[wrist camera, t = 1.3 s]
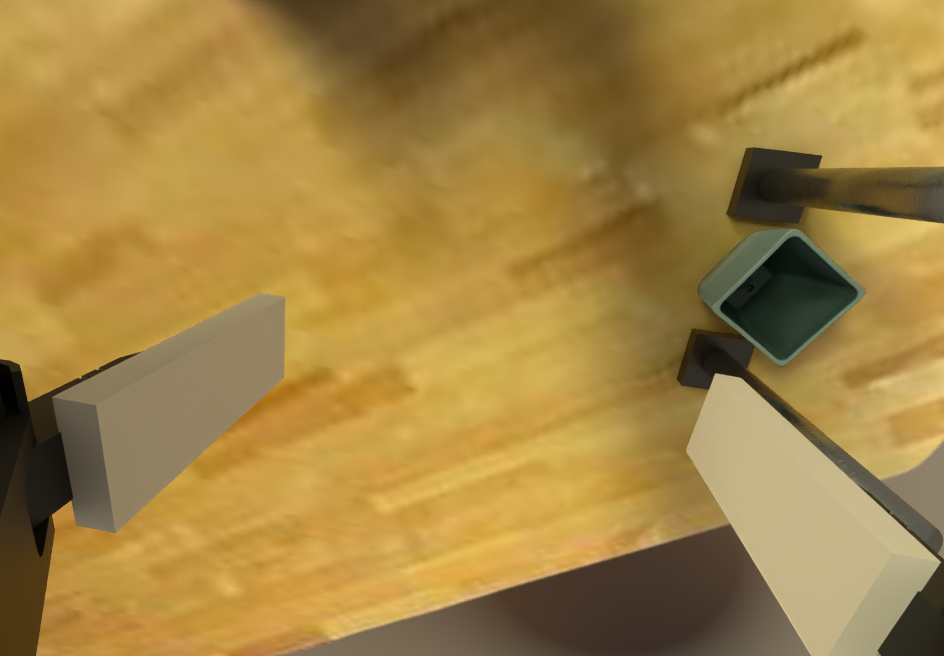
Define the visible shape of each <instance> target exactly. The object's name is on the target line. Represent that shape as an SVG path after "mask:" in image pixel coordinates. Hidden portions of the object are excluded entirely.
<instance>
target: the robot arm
mask: <svg viewBox="0 0 944 656" xmlns="http://www.w3.org/2000/svg"><path fill="white" fill-rule="evenodd" d="M284 340H285V297H282V296H276V295H271V294H265V293H259V294H257V295H255V296H253V297H251V298H249V299H247V300H245V301H243V302H241V303H239V304H237V305H235V306H233V307H231V308H229V309H227V310H225V311H223V312H221V313H219V314H217V315H215V316H213V317H211V318H209V319H207V320H205V321H203V322H201V323H199V324H197V325H195V326H193V327H191V328H189V329H187V330H185V331H183V332H181V333H179V334H177V335H175V336H173V337H171V338H169V339H167V340H165V341H163V342H161V343H159V344H157V345H155V346H153V347H151V348H149V349H147V350H145V351H143V352H139V353H135V354H132V355H128V356H124V357H120V358H118V359H116V360H114V361H112V362H110V363H108V364H106V365H104V366H102V367H100V368H99V370H93V371H91V372H89V373H87V374H85V375H83V376H82V378H81V379H80V378H77V379H75V380H73V381H71V382H69V383H67V384H65V385H63V386H60V387H58V388H56V389H54V390H52V391H50V392H48V393H46V394H44V395H42V396H40V397H38V398H36V399H34V400H32V401H30V402H28V401H27V396H26V391H25V387H24V382H23V377H22V372H21V369H20V365H19V364H17V363H14V362H12V361H9V360H1V359H0V656H36V652H37V645H38V639H39V632H40V625H41V619H42V612H43V606H44V599H45V592H46V586H47V579H48V573H49V566H50V559H51V553H52V546H53V540H54V533H55V528H54V523H53V518H52V514H53V513H55V512H56V511H57V510H59V509H60V508H61V507H63V506H64V505H65V504H67V503H68V502H69V501H71V500H72V506H73V511H74V516H75V521H76V525H77V526H83V527H88V528H93V529H98V530H103V531H108V532H114V533H116V532H117V531H118V530H119V529H120V528H121V527H123V526H124V525H125V524H126V523H127V522H128V521H129V520H130V519H131V518H132V517H133V516H134V515H136V514H137V513H138V512H139V511H140V510H141V509H142V508H143V507H144V506H145V505H146V504H147V503H149V502H150V501H151V500H152V499H153V498H154V497H155V496H156V495H157V494H158V493H159V492H160V491H162V490H163V489H164V488H165V487H166V486H167V485H168V484H169V483H170V482H171V481H172V480H173V479H175V478H176V477H177V476H178V475H179V474H180V473H181V472H182V471H183V470H184V469H185V468H186V467H188V466H189V465H190V464H191V463H192V462H193V461H194V460H195V459H196V458H197V457H198V456H199V455H201V454H202V453H203V452H204V451H205V450H206V449H207V448H208V447H209V446H210V445H211V444H212V443H214V442H215V441H216V440H217V439H218V438H219V437H220V436H221V435H222V434H223V433H224V432H225V431H227V430H228V429H229V428H230V427H231V426H232V425H233V424H234V423H235V422H236V421H237V420H238V419H240V418H241V417H242V416H243V415H244V414H245V413H246V412H247V411H248V410H249V409H250V408H251V407H253V406H254V405H255V404H256V403H257V402H258V401H259V400H260V399H261V398H262V397H263V396H264V395H266V394H267V393H268V392H269V391H270V390H271V389H272V388H273V387H274V386H275V385H276V384H277V383H279V382H280V381H281V380H282V379H283V378H284ZM686 452H687V453H688V455H689V457H690V458H691V460H692V462H693V463H694V465H695V467H696V468H697V470H698V471H699V473H700V475H701V476H702V478H703V480H704V481H705V483H706V484H707V486H708V488H709V489H710V491H711V493H712V494H713V496H714V498H715V499H716V501H717V502H718V504H719V506H720V507H721V509H722V511H723V512H724V514H725V516H726V517H727V519H728V520H729V522H730V524H731V525H732V527H733V528H734V530H735V532H736V533H737V535H738V537H739V538H740V540H741V542H742V543H743V545H744V547H745V548H746V550H747V551H748V553H749V554H750V556H751V558H752V560H753V561H754V563H755V564H756V566H757V568H758V569H759V571H760V572H761V574H762V576H763V578H764V579H765V581H766V582H767V584H768V586H769V587H770V589H771V591H772V592H773V594H774V596H775V597H776V598H777V600H778V602H779V604H780V605H781V607H782V609H783V610H784V612H785V613H786V615H787V617H788V618H789V620H790V622H791V623H792V625H793V627H794V628H795V630H796V631H797V633H798V635H799V636H800V638H801V640H802V641H803V643H804V644H805V646H806V648H807V649H808V651H809V653H810V654H811V656H877V654H878V653H880V654H881V656H944V559H943V558H942V557H940V556H939V555H938V554H937V553H936V552H935V551H934V550H933V549H932V548H931V547H929V546H928V545H927V544H926V543H925V542H924V541H923V540H922V539H921V538H920V537H918V536H917V535H916V534H915V533H914V532H913V531H912V530H909V529H907V526H906V525H905V524H904V523H903V522H902V521H901V520H900V519H899V518H898V517H896V516H895V515H894V514H890V510H889V509H888V508H887V507H885V506H884V505H883V504H882V503H881V502H880V501H879V500H878V499H877V498H876V497H874V496H873V495H872V494H871V493H870V492H868V491H867V490H865V489H864V488H862V487H861V486H859V485H858V484H856V483H855V482H854V481H852V480H851V479H850V478H849V477H848V476H847V475H846V474H845V473H844V472H843V471H842V470H840V469H839V468H838V467H837V466H836V465H835V464H834V463H833V462H832V461H831V460H830V459H829V458H827V457H826V456H825V455H824V454H823V453H822V452H821V451H820V450H819V449H818V448H817V447H816V446H814V445H813V444H812V443H811V442H810V441H809V440H808V439H807V438H806V437H805V436H804V435H802V434H801V433H800V432H799V431H798V430H797V429H796V428H795V427H794V426H793V425H792V424H791V423H789V422H788V421H787V420H786V419H785V418H784V417H783V416H782V415H781V414H780V413H779V412H778V411H776V410H775V409H774V408H773V407H772V406H771V405H770V404H769V403H768V402H767V401H766V400H764V399H763V398H762V397H761V396H760V395H759V394H758V393H757V392H756V391H755V390H754V389H753V388H751V387H750V386H749V385H748V384H747V383H746V382H745V381H744V380H743V379H742V378H738V377H733V376H727V375H722V374H716V373H715V376H714V378H713V381H712V383H711V386H710V389H709V391H708V394H707V397H706V399H705V402H704V404H703V407H702V410H701V412H700V415H699V417H698V420H697V423H696V425H695V428H694V430H693V433H692V436H691V438H690V441H689V443H688V446H687V449H686Z"/></svg>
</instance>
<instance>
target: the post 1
mask: <svg viewBox="0 0 944 656" xmlns="http://www.w3.org/2000/svg"><path fill="white" fill-rule="evenodd" d="M821 158H822V156H820V155H812V154H804V153H796V152H787V151H779V150H771V149H763V148H746V151H745V154H744V157H743V161H742V164H741V167H740V171H739V174H738V177H737V181H736V184H735V187H734V191H733V194H732V197H731V201H730V204H729V207H728V211H727V214H729V215H735V216H743V217H751V218H759V219H766V220H774V221H782V222H790V223H799V220H800V217H801V214H802V212H803V209H804V207H809V208H817V209H826V210H834V211H843V212H851V213H860V214H868V215H876V216H885V217H893V218H902V219H910V220H919V221H927V222H936V223H944V167H895V168H821V169H818V167H819V164H820V161H821Z"/></svg>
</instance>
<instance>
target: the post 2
mask: <svg viewBox="0 0 944 656" xmlns="http://www.w3.org/2000/svg"><path fill="white" fill-rule="evenodd" d="M754 347H755V345H753V344H752V343H751V342H750V341H749V340H747V339H746V338H745V337H744V336H740V335H733V334H726V333H719V332H712V331H704V330H697V329H692V330H691V334H690V337H689V340H688V344H687V347H686V350H685V354H684V357H683V360H682V364H681V367H680V370H679V374H678V377H677V380H678V381H679V383H680V384H681V385H683V386H690V387H697V388H704V389H710V386H711V383H712V381H713V378H714V376H715V373H716V374H722V375H727V376H733V377H738V378H742V379H743V380H744V381H745V382H746V383H747V384H748V385H749V386H750V387H751V388H753V389H754V390H755V391H756V392H757V393H758V394H759V395H760V396H761V397H762V398H763V399H764V400H766V401H767V402H768V403H769V404H770V405H771V406H772V407H773V408H774V409H775V410H776V411H778V412H779V413H780V414H781V415H782V416H783V417H784V418H785V419H786V420H787V421H788V422H789V423H791V424H792V425H793V426H794V427H795V428H796V429H797V430H798V431H799V432H800V433H801V434H802V435H804V436H805V437H806V438H807V439H808V440H809V441H810V442H811V443H812V444H813V445H814V446H816V447H817V448H818V449H819V450H820V451H821V452H822V453H823V454H824V455H825V456H826V457H827V458H829V459H830V460H831V461H832V462H833V463H834V464H835V465H836V466H837V467H838V468H839V469H840V470H842V471H843V472H844V473H845V474H846V475H847V476H848V477H849V478H850V479H851V480H852V481H854V482H855V483H856V484H858V485H859V486H861V487H862V488H864V489H865V490H867V491H868V492H870V493H871V494H872V495H873V496H874V497H876V498H877V499H878V500H879V501H880V502H881V503H882V504H883V505H884V506H885V507H887V508H888V509H889V510H890V514H894V515H895V516H896V517H898V518H899V519H900V520H901V521H902V522H903V523H904V524H905V525H906V526H907V529H909V530H912V531H913V532H914V533H915V534H916V535H917V536H918V537H920V538H921V539H922V540H923V541H924V542H925V543H926V544H927V545H928V546H929V547H931V548H932V549H933V550H934V551H935V552H936V553H938V552H939V550H940V549H941V546H942V543H943V538H942V534H941V533H940V531H939V530H938V529H937V528H936V527H934V526H933V525H932V524H931V523H930V522H928V521H927V520H926V519H925V518H924V517H923V516H921V515H920V514H919V513H918V512H917V511H915V510H914V509H913V508H912V507H911V506H909V505H908V504H907V503H906V502H905V501H903V500H902V499H901V498H900V497H899V496H898V495H896V494H895V493H894V492H893V491H892V490H890V489H889V488H888V487H887V486H885V484H883V483H882V482H881V481H880V480H879V479H877V478H876V477H875V476H874V475H873V474H871V473H870V472H869V471H868V470H867V469H866V468H864V467H863V466H862V465H861V464H860V463H858V462H857V461H856V460H855V459H854V458H852V457H851V456H850V455H849V454H848V453H846V452H845V451H844V450H843V449H842V448H841V447H839V446H838V445H837V444H836V443H835V442H833V441H832V440H831V439H830V438H829V437H827V436H826V435H825V434H824V433H823V432H822V431H820V430H819V429H818V428H817V427H816V426H814V425H813V424H812V423H811V422H810V421H808V420H807V419H806V418H805V417H804V416H802V415H801V414H800V413H799V412H798V411H797V410H795V409H794V408H793V407H792V406H791V405H789V404H788V403H787V402H786V401H785V400H783V399H782V398H781V397H780V396H779V395H778V394H776V393H775V392H774V391H773V390H772V389H770V388H769V387H768V386H767V385H766V384H764V383H763V382H762V381H761V380H760V379H758V378H757V377H756V376H755V375H754V374H753V373H751V372H750V371H749V370H748V369H747V367H748V364H749V361H750V358H751V355H752V352H753V350H754Z"/></svg>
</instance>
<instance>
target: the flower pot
mask: <svg viewBox="0 0 944 656" xmlns="http://www.w3.org/2000/svg"><path fill="white" fill-rule="evenodd" d="M748 286H751V287H752V288H751V290H747V287H748ZM865 293H866V291H865V289H864V288H863V287H862V286H861V285H860V284H858V283H857V282H856V281H855V280H854V279H853V278H852V277H851V276H850V275H848V274H847V273H846V272H845V271H844V270H843V269H842V268H841V267H839V266H838V265H837V264H836V263H835V262H834V261H833V260H832V259H830V258H829V257H828V256H827V255H826V254H825V253H824V252H823V251H822V250H821V249H820V248H819V247H817V246H816V245H815V244H814V243H813V242H812V241H811V240H810V239H809V238H808V237H807V236H806V235H805V234H804V233H802V232H801V231H800V230H798V229H764V230H759V231H756V232H754V233H752V234H750V235H748V236H747V237H746V238H744V239H743V240H742V241H741V242H740V243H739V244H738V245H737V246H736V247H735V248H734V249H733V250H732V251H731V252H730V253H729V254H728V255H727V256H726V257H725V258H724V259H723V260H722V261H721V262H720V263H719V264H718V265H717V266H716V267H715V268H714V269H713V270H712V271H711V272H710V273H709V274H708V275H707V276H706V277H705V278H704V279H703V280H702V281H701V282H700V284H699V286H698V294H699V296H700V298H701V299H702V300H703V301H704V302H705V303H706V304H707V305H708V306H709V307H710V309H711V310H712V311H713V312H714V313H715V314H717V315H718V316H719V317H720V318H722V319H723V320H724V321H725V322H727V323H728V324H729V325H730V326H732V327H733V328H734V329H735V330H737V331H738V332H739V333H740V334H741V335H743V336H744V337H745V338H746V339H747V340H749V341H750V342H751V343H752V344H753V345H755V346H756V347H757V348H758V349H759V350H760V351H762V352H763V353H764V354H765V355H766V356H767V357H768V358H769V359H771V360H772V361H773V362H774V363H775V364H776V365H778V366H785V365H786V364H788V363H789V362H790V361H791V360H792V359H794V358H795V357H796V356H797V355H798V354H799V353H800V352H801V351H802V350H803V349H805V348H806V347H807V346H808V345H809V344H810V343H811V342H812V341H814V340H815V339H816V338H817V337H818V336H819V335H820V334H822V333H823V332H824V331H825V330H826V329H827V328H828V327H829V326H831V325H832V324H833V323H834V322H835V321H836V320H837V319H839V318H840V317H841V316H842V315H843V314H844V313H846V312H847V311H848V310H849V309H850V308H852V307H853V306H854V305H855V304H857V303H858V302H859V301H860V300H861V299H862V298H863V296H864V295H865Z"/></svg>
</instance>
